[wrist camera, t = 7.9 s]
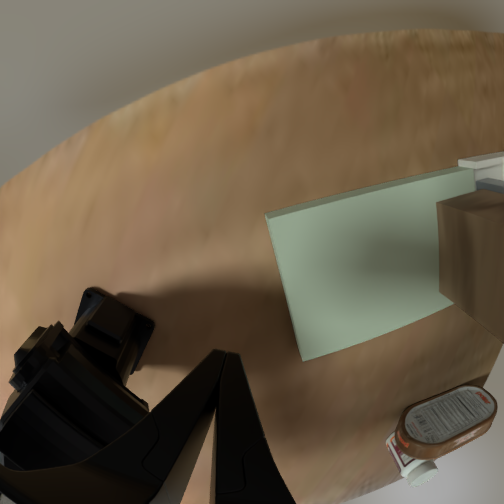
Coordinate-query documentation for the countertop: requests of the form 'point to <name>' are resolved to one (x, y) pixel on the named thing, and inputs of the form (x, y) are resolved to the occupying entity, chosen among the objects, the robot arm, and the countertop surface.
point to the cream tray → (485, 166)
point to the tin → (445, 422)
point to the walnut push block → (473, 256)
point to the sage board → (363, 259)
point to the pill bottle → (411, 465)
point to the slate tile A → (490, 185)
